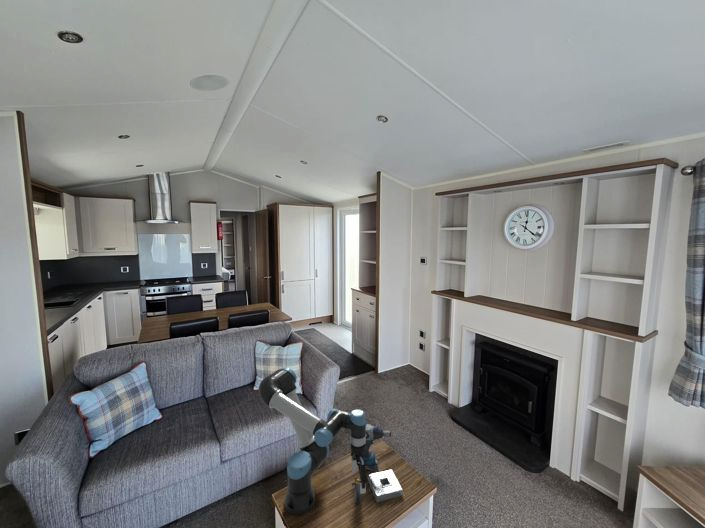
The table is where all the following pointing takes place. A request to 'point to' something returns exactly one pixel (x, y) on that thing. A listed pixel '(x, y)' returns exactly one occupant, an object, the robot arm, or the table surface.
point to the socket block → (387, 490)
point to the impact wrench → (372, 435)
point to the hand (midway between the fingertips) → (358, 481)
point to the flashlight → (357, 490)
